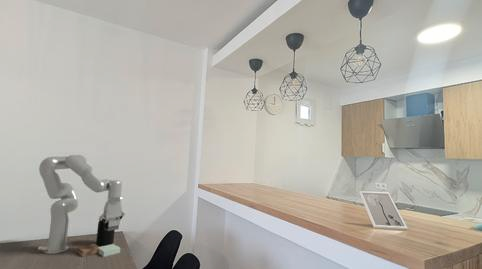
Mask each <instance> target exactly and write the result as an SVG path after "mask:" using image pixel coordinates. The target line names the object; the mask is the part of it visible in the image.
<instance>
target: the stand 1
mask: <svg viewBox="0 0 482 269" xmlns="http://www.w3.org/2000/svg"><path fill="white" fill-rule="evenodd" d="M98 247H99V246H97V245H96V243H92V244H88V245H82V246H77V247H76V253H77V254H78V255H79V256H80V257H82V258H84V257H88V256H92V255H96V254H99V253H98V252H99V248H98Z"/></svg>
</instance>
